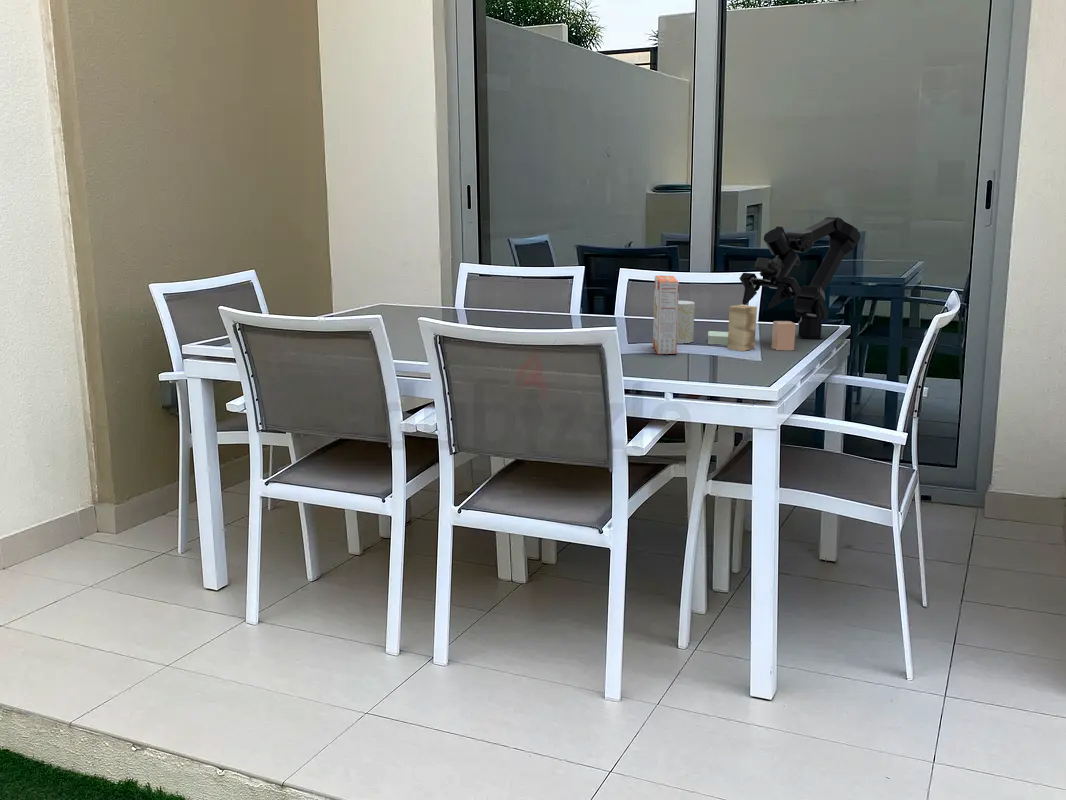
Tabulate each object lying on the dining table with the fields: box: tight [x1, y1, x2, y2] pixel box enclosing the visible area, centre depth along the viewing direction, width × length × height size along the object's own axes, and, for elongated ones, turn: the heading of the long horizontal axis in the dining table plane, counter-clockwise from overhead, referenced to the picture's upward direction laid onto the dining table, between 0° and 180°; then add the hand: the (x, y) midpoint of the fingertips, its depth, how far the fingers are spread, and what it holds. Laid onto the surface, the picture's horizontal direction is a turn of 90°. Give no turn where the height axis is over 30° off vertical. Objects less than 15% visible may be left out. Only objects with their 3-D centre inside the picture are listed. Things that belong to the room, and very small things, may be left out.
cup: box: [677, 300, 696, 343], centre depth 310 cm, size 8×8×12 cm
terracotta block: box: [771, 320, 796, 351], centre depth 300 cm, size 5×5×8 cm
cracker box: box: [652, 275, 680, 356], centre depth 294 cm, size 14×6×21 cm, turn 178°
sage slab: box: [707, 330, 728, 346], centre depth 311 cm, size 9×9×3 cm
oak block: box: [726, 304, 758, 352], centre depth 299 cm, size 6×6×12 cm
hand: (755, 305), depth 302 cm, fingers open, 9 cm apart
